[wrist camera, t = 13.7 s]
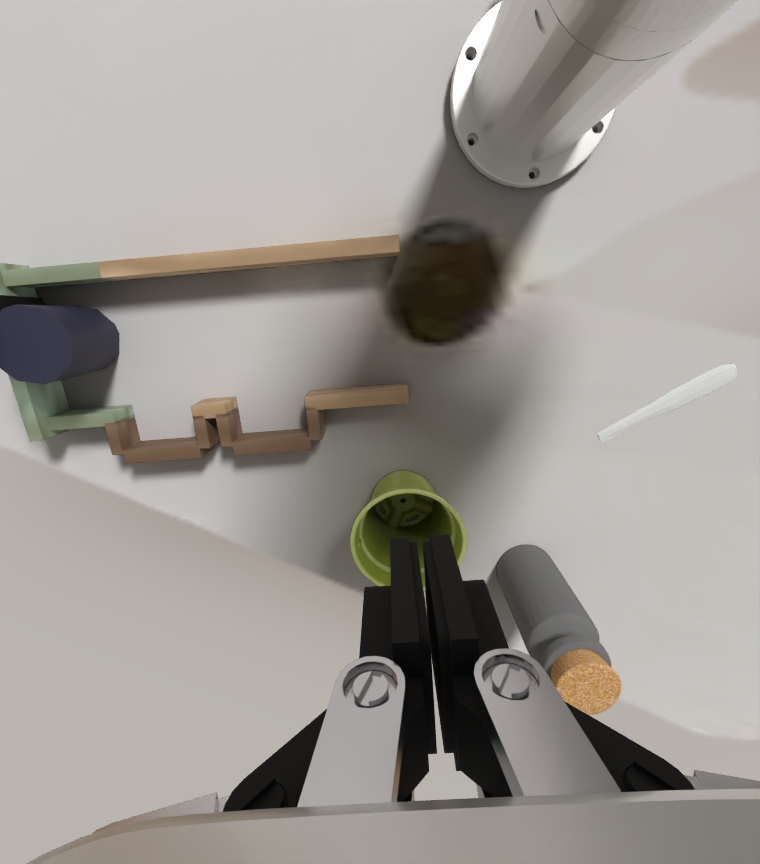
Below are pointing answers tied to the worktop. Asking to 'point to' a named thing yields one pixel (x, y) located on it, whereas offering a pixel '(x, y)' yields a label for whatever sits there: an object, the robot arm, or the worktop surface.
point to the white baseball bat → (674, 399)
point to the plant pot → (402, 524)
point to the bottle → (557, 629)
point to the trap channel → (211, 417)
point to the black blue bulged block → (53, 340)
